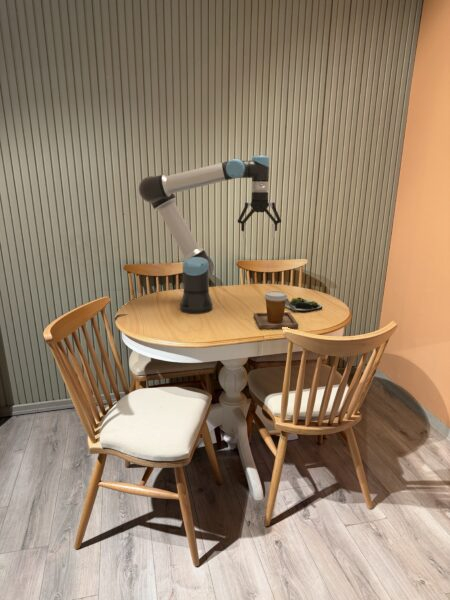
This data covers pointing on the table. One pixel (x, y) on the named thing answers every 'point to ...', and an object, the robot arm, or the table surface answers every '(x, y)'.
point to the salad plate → (302, 305)
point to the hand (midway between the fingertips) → (258, 238)
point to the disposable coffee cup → (275, 306)
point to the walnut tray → (264, 324)
